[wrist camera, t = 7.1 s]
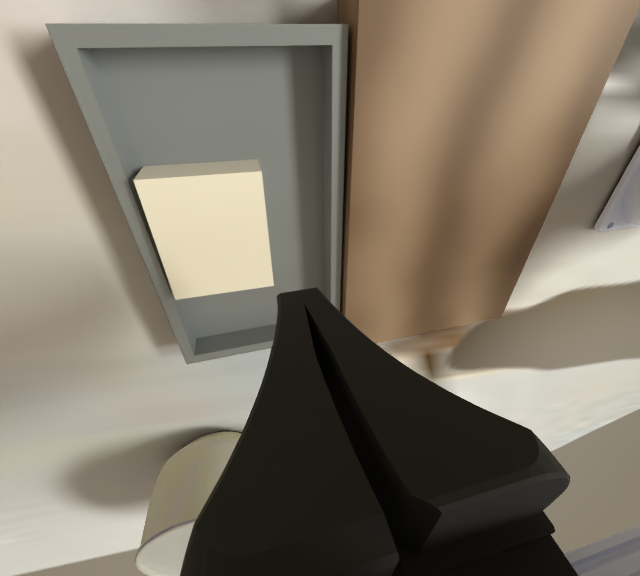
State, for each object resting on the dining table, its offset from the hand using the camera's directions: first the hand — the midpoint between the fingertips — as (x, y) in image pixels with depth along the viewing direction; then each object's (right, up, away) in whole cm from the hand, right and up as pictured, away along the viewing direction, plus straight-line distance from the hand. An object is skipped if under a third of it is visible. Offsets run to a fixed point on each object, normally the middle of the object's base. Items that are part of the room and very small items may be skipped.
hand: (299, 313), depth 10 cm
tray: (-3, +4, +6) cm, 9 cm away
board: (+8, +6, +9) cm, 13 cm away
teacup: (-7, -14, +19) cm, 24 cm away
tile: (-4, +3, +4) cm, 7 cm away
